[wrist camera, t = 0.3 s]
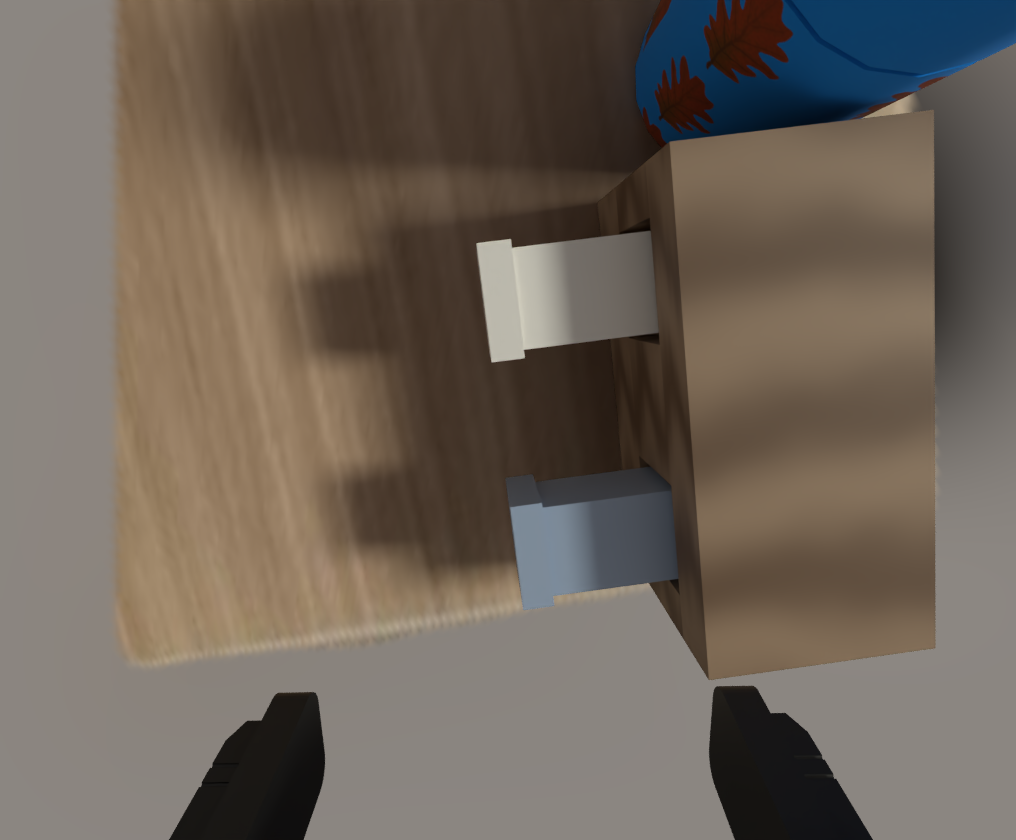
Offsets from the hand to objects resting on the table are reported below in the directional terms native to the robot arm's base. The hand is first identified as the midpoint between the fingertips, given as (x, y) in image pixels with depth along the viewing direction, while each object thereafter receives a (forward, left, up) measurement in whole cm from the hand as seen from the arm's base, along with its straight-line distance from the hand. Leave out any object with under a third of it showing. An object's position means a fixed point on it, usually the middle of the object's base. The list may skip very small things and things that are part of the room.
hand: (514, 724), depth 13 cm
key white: (-8, +6, -22) cm, 25 cm away
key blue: (+4, +6, -22) cm, 23 cm away
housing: (-2, +13, -28) cm, 31 cm away
